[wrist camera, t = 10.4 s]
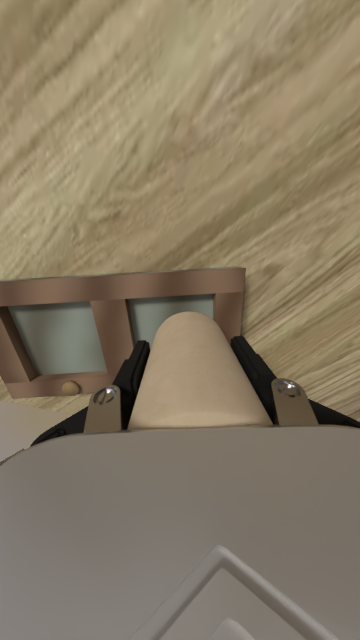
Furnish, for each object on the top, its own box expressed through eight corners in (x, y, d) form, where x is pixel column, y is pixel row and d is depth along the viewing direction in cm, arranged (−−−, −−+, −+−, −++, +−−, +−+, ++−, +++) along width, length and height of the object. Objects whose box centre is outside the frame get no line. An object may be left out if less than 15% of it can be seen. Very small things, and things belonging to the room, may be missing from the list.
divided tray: (236, 266, 16) (247, 268, 14) (229, 369, 20) (237, 384, 18) (-19, 281, 16) (-54, 285, 13) (29, 384, 20) (9, 401, 17)
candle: (197, 380, 15) (227, 592, 6) (142, 351, 14) (64, 557, 4) (237, 333, 13) (377, 527, 4) (178, 296, 12) (172, 443, 3)
